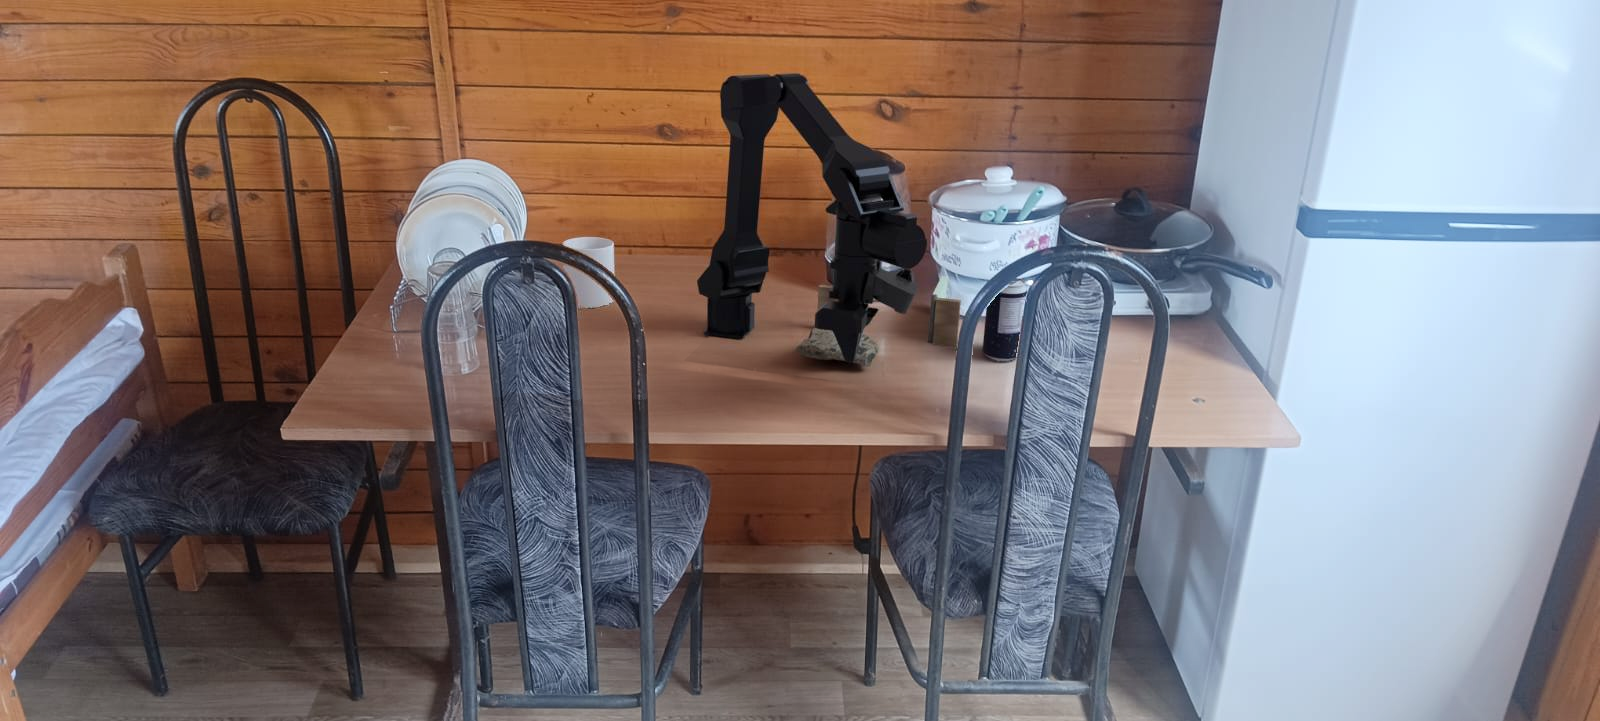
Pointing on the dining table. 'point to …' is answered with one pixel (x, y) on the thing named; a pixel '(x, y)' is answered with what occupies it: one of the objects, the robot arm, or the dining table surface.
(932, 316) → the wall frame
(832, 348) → the rock
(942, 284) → the door
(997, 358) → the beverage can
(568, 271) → the mug
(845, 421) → the dining table surface
